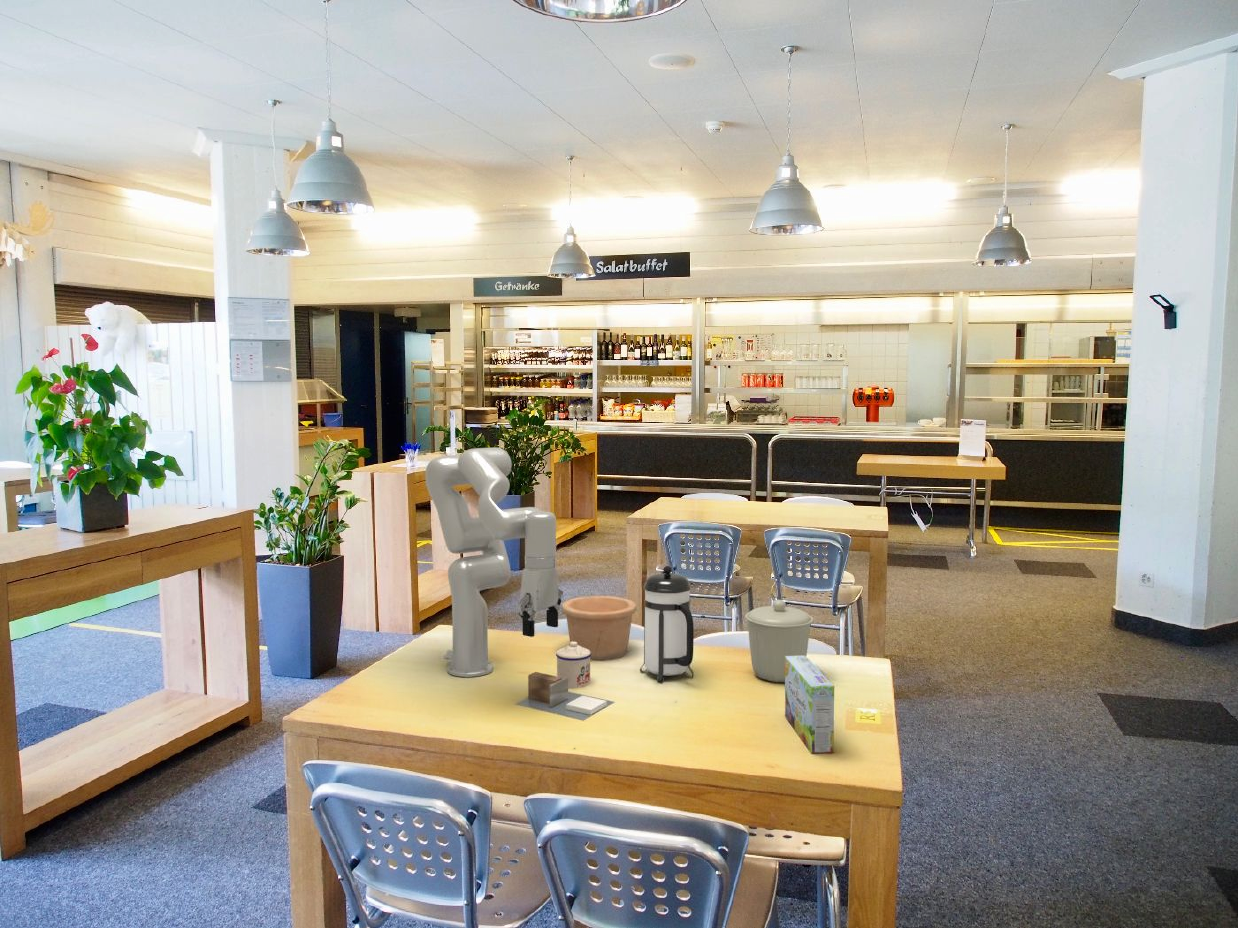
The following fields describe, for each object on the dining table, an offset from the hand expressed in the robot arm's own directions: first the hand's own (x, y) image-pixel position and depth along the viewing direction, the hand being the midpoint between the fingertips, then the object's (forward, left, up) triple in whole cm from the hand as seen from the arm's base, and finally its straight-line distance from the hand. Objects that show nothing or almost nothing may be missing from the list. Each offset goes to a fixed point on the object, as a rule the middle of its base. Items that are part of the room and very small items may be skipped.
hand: (540, 631), depth 211 cm
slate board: (+7, +1, -18) cm, 19 cm away
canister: (+43, +50, -18) cm, 68 cm away
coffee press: (+18, +35, -18) cm, 43 cm away
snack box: (+63, +16, -18) cm, 67 cm away
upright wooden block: (+1, 0, -17) cm, 17 cm away
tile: (+9, +1, -16) cm, 19 cm away
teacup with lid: (0, +16, -18) cm, 24 cm away
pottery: (-10, +43, -18) cm, 48 cm away
